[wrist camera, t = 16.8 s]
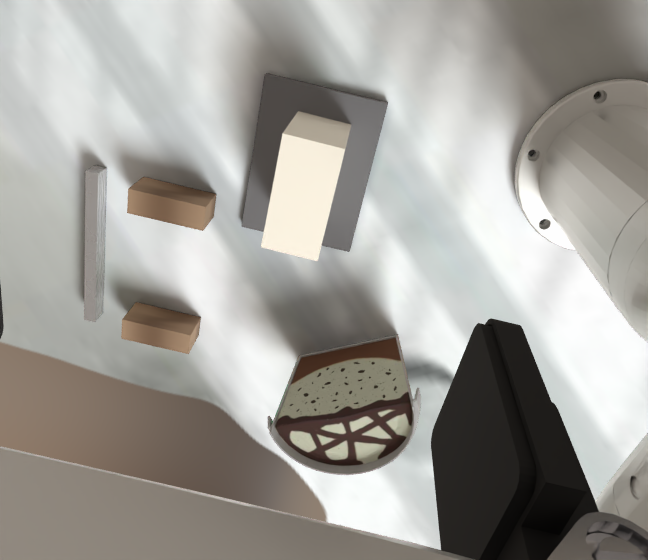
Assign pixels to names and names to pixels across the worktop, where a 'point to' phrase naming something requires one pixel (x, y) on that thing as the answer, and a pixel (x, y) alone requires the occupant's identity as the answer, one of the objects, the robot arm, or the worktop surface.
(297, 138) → the cream cuboid
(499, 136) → the worktop surface
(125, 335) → the blocks
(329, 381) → the food container
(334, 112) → the mat
